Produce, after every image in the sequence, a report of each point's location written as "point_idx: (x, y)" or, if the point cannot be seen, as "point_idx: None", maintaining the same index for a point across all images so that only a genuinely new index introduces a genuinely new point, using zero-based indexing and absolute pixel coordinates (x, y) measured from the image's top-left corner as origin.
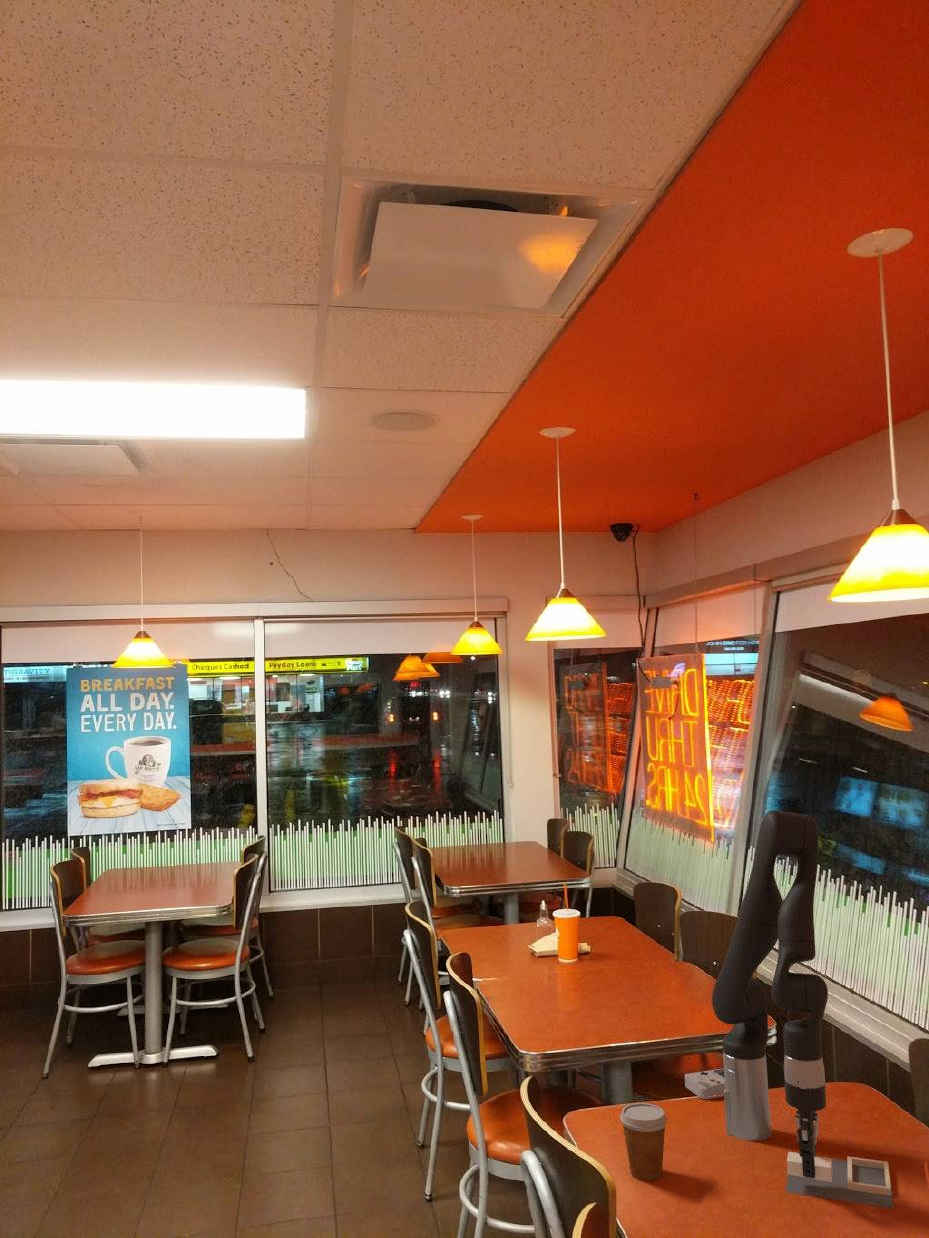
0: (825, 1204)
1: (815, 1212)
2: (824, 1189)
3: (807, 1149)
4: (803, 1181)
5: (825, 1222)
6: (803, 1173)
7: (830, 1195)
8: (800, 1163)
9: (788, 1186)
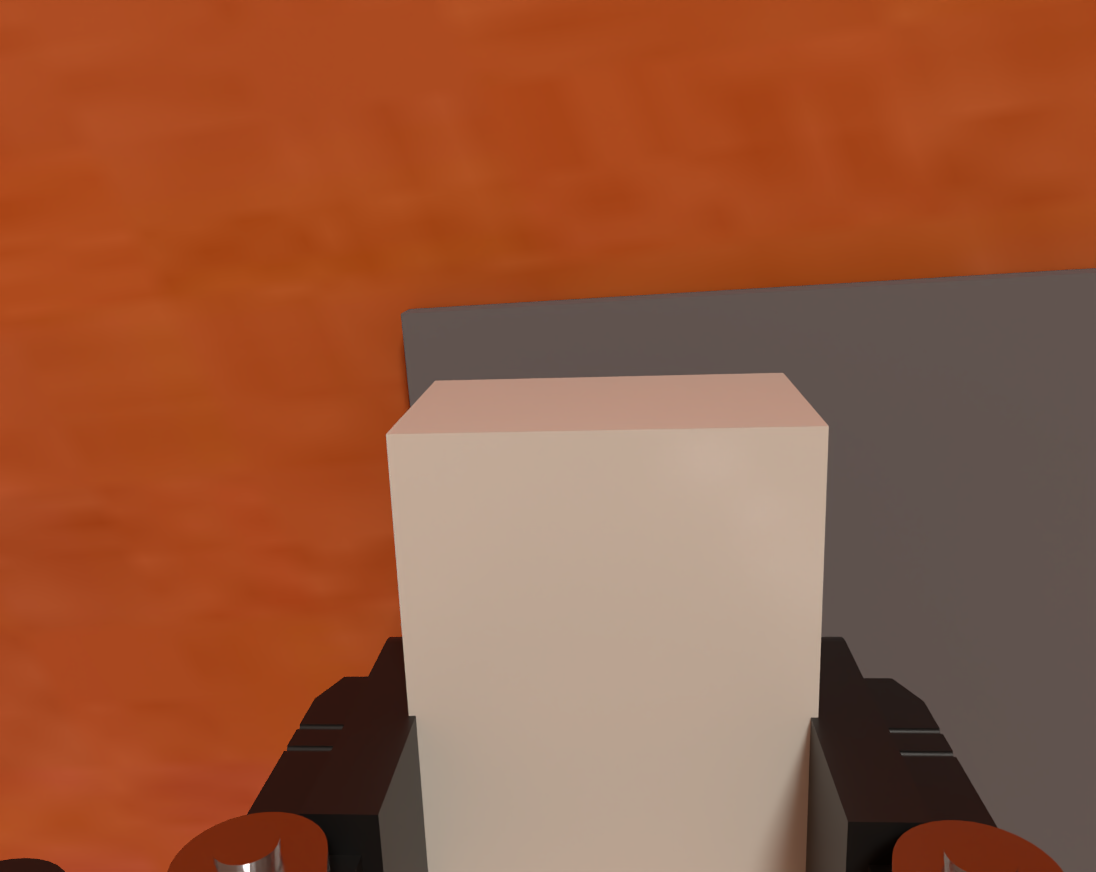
0: None
1: (161, 652)
2: None
3: (833, 846)
4: None
5: (9, 752)
6: (385, 652)
7: None
8: (405, 675)
9: (561, 332)
